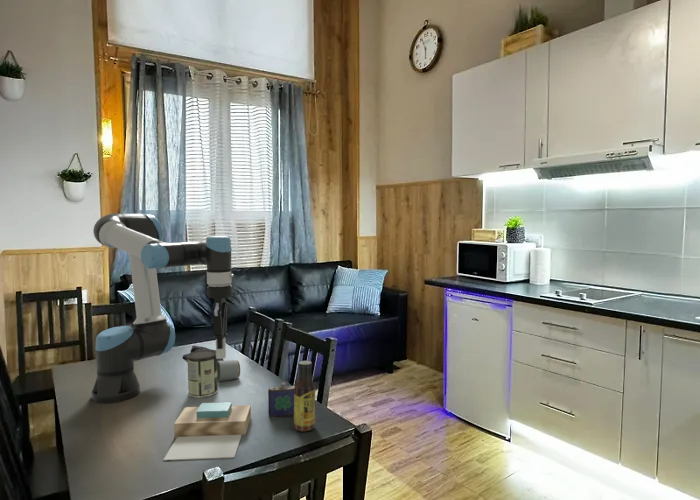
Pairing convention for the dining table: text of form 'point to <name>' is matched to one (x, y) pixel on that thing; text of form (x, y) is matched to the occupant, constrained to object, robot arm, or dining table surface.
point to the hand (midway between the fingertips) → (221, 357)
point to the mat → (203, 447)
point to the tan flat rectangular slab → (212, 423)
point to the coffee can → (202, 373)
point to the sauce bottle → (304, 398)
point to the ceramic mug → (228, 370)
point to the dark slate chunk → (198, 348)
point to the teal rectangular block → (214, 410)
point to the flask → (281, 401)
